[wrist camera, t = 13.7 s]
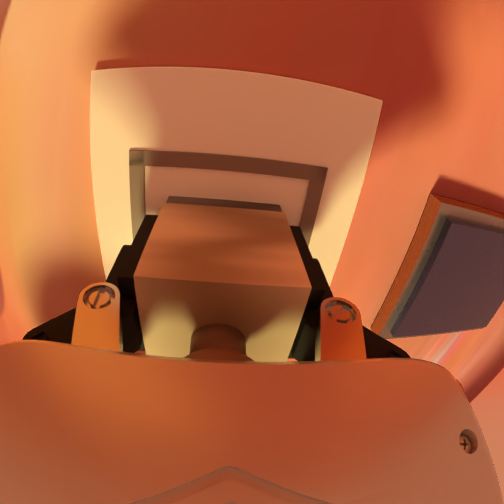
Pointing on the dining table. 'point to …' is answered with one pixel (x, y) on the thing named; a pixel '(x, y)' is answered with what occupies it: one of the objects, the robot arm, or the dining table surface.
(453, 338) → the dining table surface
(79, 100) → the dining table surface
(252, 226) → the stamp
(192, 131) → the card
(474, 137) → the dining table surface
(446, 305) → the ink pad
